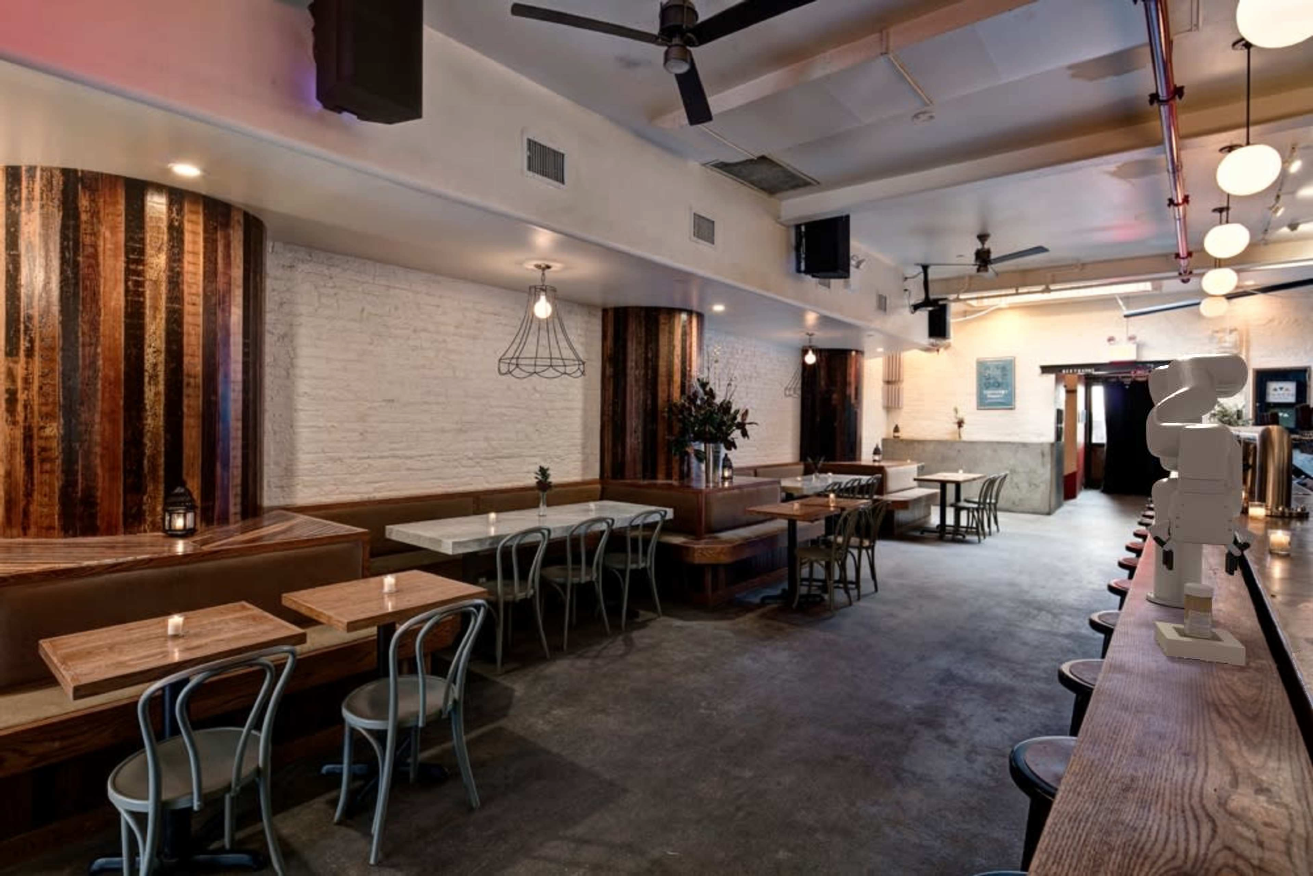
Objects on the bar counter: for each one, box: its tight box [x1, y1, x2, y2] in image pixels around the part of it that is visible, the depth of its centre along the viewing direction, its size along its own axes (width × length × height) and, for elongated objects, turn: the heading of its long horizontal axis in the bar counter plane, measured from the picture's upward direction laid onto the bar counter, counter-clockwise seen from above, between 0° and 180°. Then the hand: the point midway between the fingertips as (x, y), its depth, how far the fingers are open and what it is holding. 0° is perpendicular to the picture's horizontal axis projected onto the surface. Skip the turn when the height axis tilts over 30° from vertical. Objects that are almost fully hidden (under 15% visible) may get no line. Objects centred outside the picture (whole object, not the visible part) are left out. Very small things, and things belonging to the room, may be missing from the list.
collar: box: [1153, 621, 1247, 667], centre depth 134 cm, size 12×12×4 cm
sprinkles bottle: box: [1183, 583, 1215, 640], centre depth 134 cm, size 5×5×13 cm
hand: (1198, 571), depth 134 cm, fingers open, 9 cm apart
